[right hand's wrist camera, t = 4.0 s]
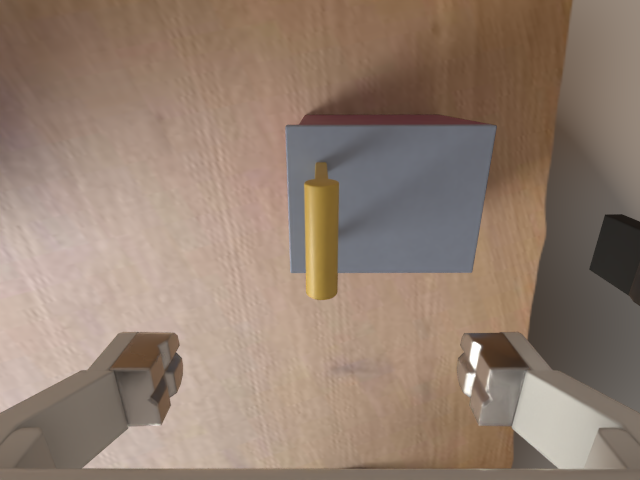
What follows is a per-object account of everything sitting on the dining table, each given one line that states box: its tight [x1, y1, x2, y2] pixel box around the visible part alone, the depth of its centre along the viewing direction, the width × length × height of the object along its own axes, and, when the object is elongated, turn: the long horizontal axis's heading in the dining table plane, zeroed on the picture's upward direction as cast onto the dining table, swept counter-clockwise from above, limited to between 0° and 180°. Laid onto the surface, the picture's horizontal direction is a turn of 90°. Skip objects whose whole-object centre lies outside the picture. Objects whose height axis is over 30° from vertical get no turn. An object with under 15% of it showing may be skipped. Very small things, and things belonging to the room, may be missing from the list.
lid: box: [286, 124, 497, 300], centre depth 21 cm, size 13×10×8 cm
